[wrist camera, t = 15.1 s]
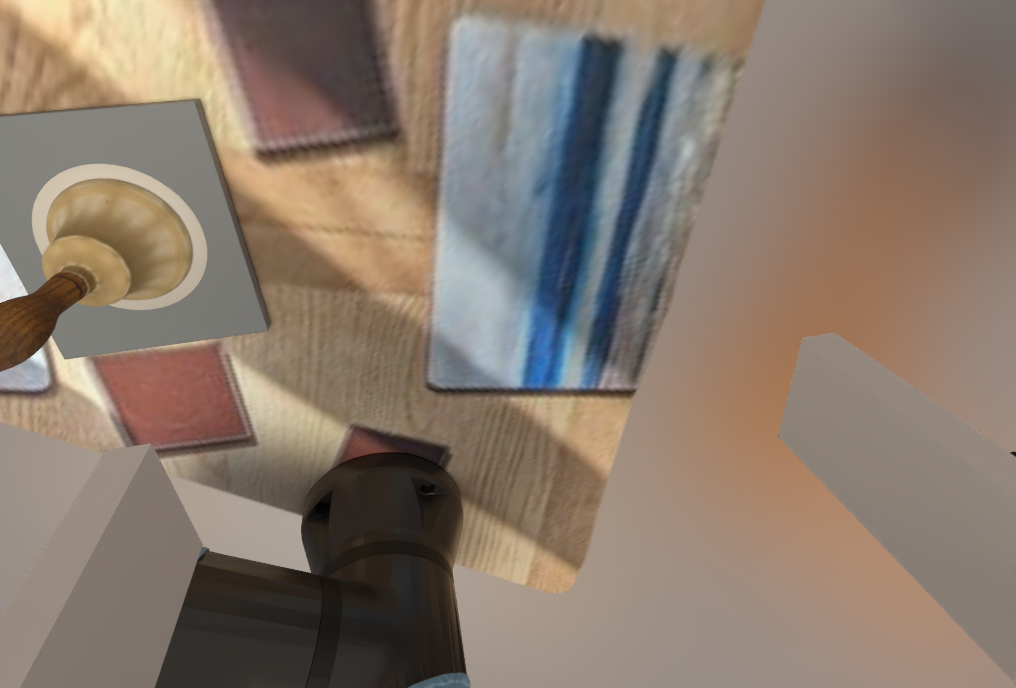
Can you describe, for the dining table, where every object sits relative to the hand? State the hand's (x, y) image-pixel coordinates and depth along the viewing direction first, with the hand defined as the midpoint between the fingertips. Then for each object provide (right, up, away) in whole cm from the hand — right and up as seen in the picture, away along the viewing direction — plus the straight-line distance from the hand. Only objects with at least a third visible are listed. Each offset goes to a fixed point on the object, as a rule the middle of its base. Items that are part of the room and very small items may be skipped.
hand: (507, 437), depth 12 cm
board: (-26, +9, +26) cm, 38 cm away
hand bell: (-25, +9, +25) cm, 37 cm away
